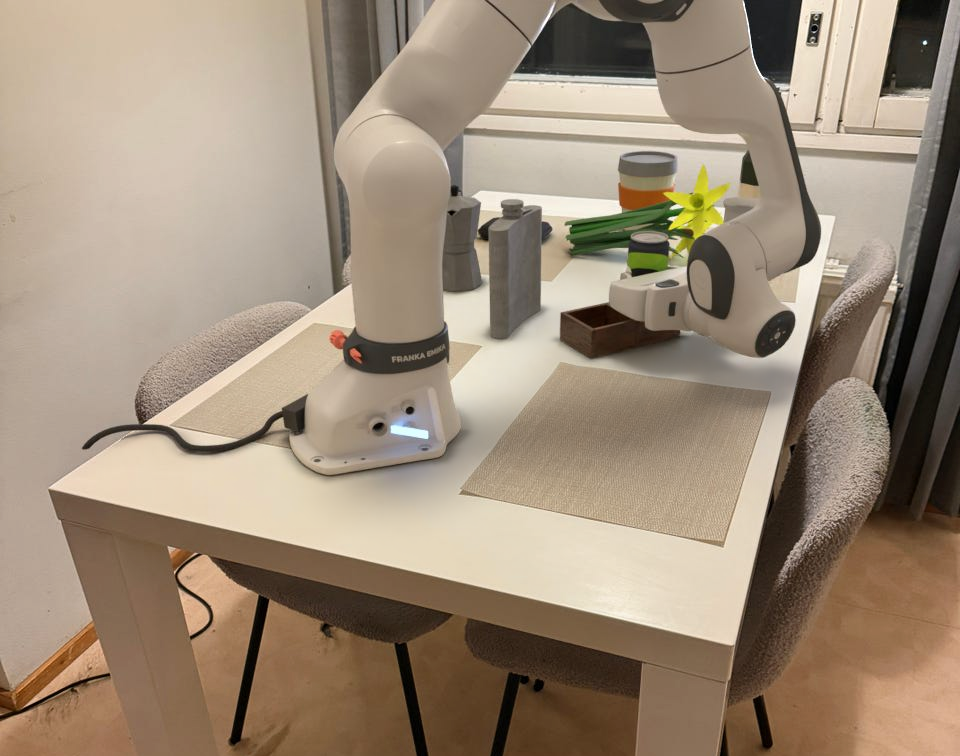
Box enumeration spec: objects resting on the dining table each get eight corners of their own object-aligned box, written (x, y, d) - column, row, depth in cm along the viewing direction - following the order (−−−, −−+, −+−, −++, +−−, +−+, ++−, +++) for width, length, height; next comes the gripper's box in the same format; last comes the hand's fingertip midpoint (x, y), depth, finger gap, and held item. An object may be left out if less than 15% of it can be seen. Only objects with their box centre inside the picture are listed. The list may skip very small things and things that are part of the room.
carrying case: (556, 233, 195) (494, 227, 200) (557, 219, 194) (493, 213, 199) (539, 246, 187) (475, 240, 192) (540, 232, 185) (474, 226, 190)
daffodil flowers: (593, 241, 192) (757, 215, 173) (577, 294, 186) (746, 273, 167) (561, 182, 180) (734, 147, 161) (543, 237, 174) (720, 207, 155)
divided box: (590, 359, 137) (591, 330, 135) (559, 339, 144) (560, 312, 142) (679, 337, 144) (682, 309, 141) (646, 319, 151) (648, 293, 148)
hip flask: (504, 340, 144) (503, 214, 134) (482, 336, 146) (479, 212, 135) (543, 307, 156) (545, 190, 146) (522, 304, 158) (522, 188, 148)
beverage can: (665, 324, 147) (673, 232, 139) (657, 337, 142) (666, 243, 134) (627, 319, 149) (634, 229, 141) (618, 333, 144) (624, 239, 136)
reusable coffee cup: (614, 219, 203) (618, 150, 195) (671, 220, 202) (677, 150, 194) (614, 235, 193) (618, 163, 185) (673, 236, 191) (680, 163, 183)
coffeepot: (480, 296, 162) (478, 194, 153) (428, 295, 163) (423, 194, 153) (485, 269, 175) (483, 173, 166) (437, 268, 176) (433, 174, 167)
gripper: (757, 266, 133) (696, 242, 143) (644, 290, 125) (589, 263, 136) (751, 306, 136) (692, 280, 147) (641, 333, 128) (587, 303, 139)
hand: (642, 272), depth 141 cm, fingers closed on beverage can, 6 cm apart
